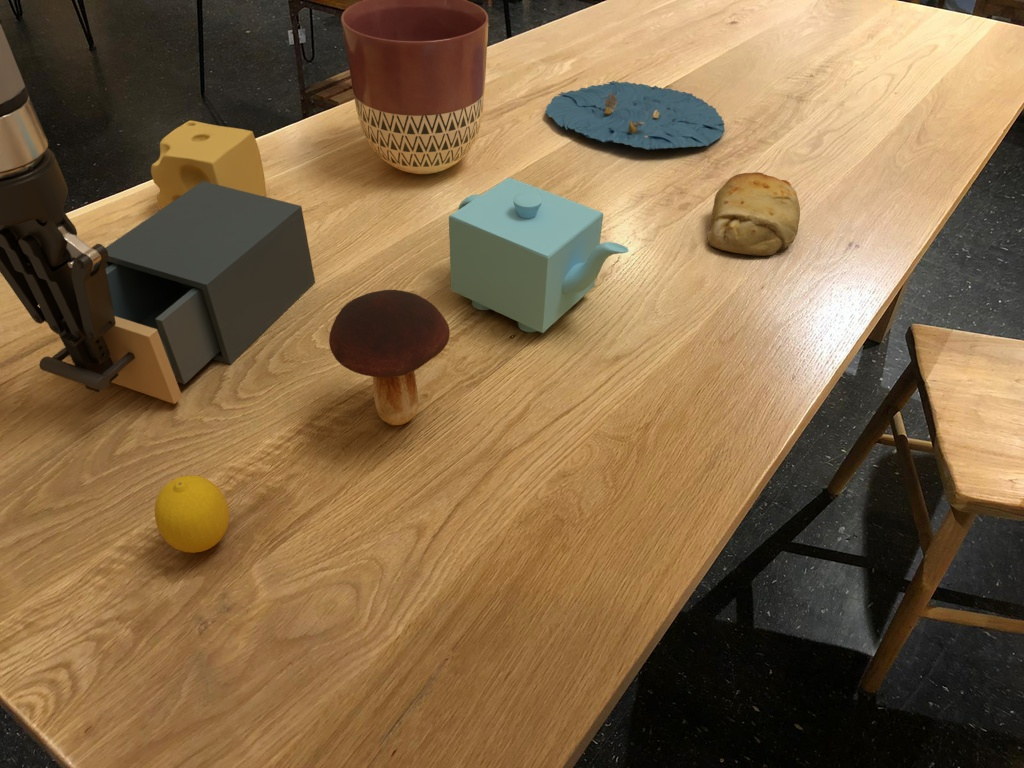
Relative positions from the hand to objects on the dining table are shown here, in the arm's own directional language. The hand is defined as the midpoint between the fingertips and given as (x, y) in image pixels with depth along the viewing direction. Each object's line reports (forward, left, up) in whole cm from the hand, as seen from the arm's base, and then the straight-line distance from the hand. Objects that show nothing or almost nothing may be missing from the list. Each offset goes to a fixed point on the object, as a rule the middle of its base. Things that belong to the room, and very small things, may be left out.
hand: (102, 381), depth 75 cm
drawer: (0, +7, -3) cm, 8 cm away
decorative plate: (+30, +88, -4) cm, 93 cm away
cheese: (-15, +36, -4) cm, 39 cm away
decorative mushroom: (+27, +10, -4) cm, 29 cm away
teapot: (+33, +33, -4) cm, 47 cm away
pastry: (+54, +60, -4) cm, 81 cm away
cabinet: (0, +18, -3) cm, 18 cm away
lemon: (+19, -10, -4) cm, 22 cm away
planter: (+5, +59, -4) cm, 59 cm away
